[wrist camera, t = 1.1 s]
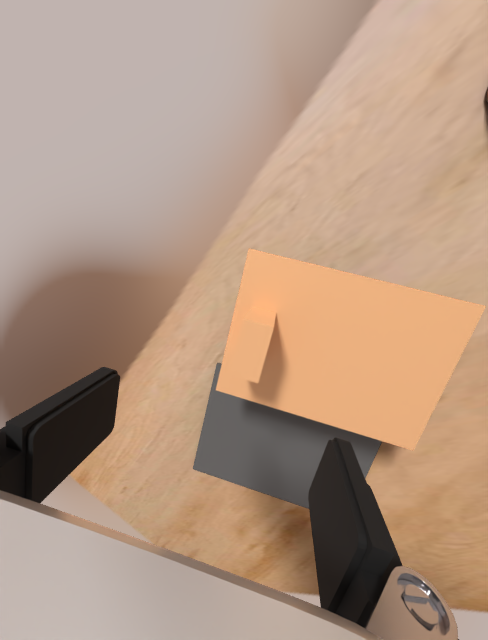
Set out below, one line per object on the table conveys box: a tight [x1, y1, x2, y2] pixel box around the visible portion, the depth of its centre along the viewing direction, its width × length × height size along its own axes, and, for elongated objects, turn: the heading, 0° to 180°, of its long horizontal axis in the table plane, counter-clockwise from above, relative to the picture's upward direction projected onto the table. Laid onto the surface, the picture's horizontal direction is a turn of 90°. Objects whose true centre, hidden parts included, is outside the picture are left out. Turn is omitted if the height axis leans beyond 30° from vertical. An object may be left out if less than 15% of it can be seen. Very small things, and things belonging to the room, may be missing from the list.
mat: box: [193, 363, 382, 509], centre depth 38 cm, size 26×20×1 cm
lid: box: [216, 248, 486, 450], centre depth 23 cm, size 22×16×8 cm
